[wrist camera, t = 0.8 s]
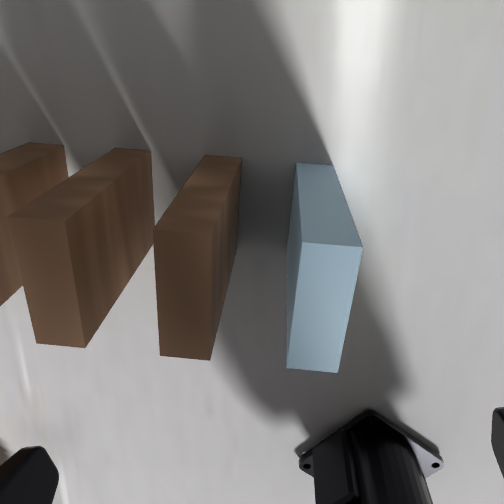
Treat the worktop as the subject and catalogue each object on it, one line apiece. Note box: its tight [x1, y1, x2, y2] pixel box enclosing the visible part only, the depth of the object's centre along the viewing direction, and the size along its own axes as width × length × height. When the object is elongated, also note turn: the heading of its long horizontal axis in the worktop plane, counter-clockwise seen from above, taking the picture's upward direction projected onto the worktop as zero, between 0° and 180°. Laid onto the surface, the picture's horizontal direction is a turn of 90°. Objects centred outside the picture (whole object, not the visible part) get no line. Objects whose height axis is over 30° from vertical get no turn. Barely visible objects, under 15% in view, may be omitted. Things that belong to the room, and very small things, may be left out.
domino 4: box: [286, 162, 363, 373], centre depth 16 cm, size 2×4×8 cm, turn 177°
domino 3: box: [153, 155, 241, 361], centre depth 16 cm, size 2×4×8 cm, turn 177°
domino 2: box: [7, 148, 155, 348], centre depth 16 cm, size 2×4×8 cm, turn 177°
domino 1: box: [0, 143, 68, 306], centre depth 16 cm, size 2×4×8 cm, turn 178°
